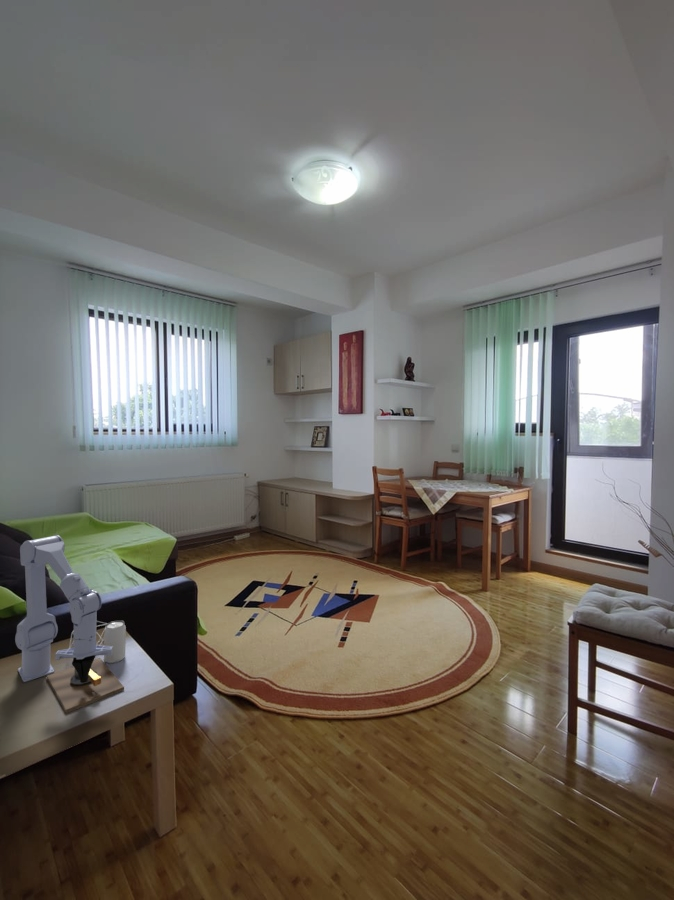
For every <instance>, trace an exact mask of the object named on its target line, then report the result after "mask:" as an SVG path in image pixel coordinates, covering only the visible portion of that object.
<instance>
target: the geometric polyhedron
mask: <svg viewBox="0 0 674 900" xmlns="http://www.w3.org/2000/svg"><path fill="white" fill-rule="evenodd" d="M97 623H102V624H99V625H96V628H97V627H100V626H101V627H102V626H105V627H104V629H103V631H102V633H101V635H100V634H99V632H97V631H96V635H98V638H99V639H98V641H96V645H100V646H102V643H104V637H103V636H104V635H103V634H104V631H105V628H106V625H107V624H108V623H107V622H103V621H99V620H97ZM73 636H74V629H73V630H72V632H71V634H70V641H69V644H68V645H69V647H68V649H69V648H72V647H73V641H72V639H73V638H72V637H73ZM102 637H103V638H102ZM100 641H101V642H100ZM99 643H100V644H99Z"/></svg>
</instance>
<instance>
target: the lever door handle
mask: <svg viewBox="0 0 674 900" xmlns="http://www.w3.org/2000/svg"><path fill="white" fill-rule="evenodd" d="M70 682H71V684H73V685H84V684H87V683H89V682H91V683H93V685H94V686H96V685H99V684H101V677H100V676H98V675H97V672H96V671H94V670H91V668H90V671H89V675H88V679H87V681H86V682H80V678H79V675H78V673H77V671H76V669H75V675H73V676H72V677H71V679H70Z"/></svg>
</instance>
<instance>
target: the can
mask: <svg viewBox="0 0 674 900" xmlns="http://www.w3.org/2000/svg"><path fill="white" fill-rule="evenodd" d="M105 627H106V628H105ZM105 627H104V629H105V630H103V631H104V633H103V634H104V635H103V638H104V641H103V646H113V653H112V654H111V656H107V655H103V662H104V663H105V664H106V663H107V664H116V663H119V662H121V661H123V659H124V658H126V643H127V642H126V641H127V640H126V638H127V636H126V634H127V629H126V628H127V627H126V625H125V621H124V620H114V621H110V622H108V623H107V624H106V625H105Z"/></svg>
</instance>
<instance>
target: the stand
mask: <svg viewBox="0 0 674 900" xmlns="http://www.w3.org/2000/svg"><path fill="white" fill-rule="evenodd" d="M91 670H94V671H96V672H97V675H98V676H100V677H101V684H99V685H96V686H94V685H93V683H91V682H89V683H87V684H84V685H73V684H71V682H70V679H71V677H72V676H73V675H75V668H74V666H72V667H71V666H70V667H68V668H66V669H63V670H60V671H55V672H53V673H51V674H48V675H46V680H47V681H48V684H49V686H50V687H51V689H52V690H53V692H54V693H53V694H55V696H56V698H57V699H58V702H59V703H60V705H61V707H62V709H63V710H64V712H65V713H66V714H68V713H71V712H73V711H75V710H77V709H80V708H82V707H86V706H87V705H90V704H93V703H95V702H97V701H100V700H103V699H106V698H107V697H110V696H112V695H115V694H118V693H121V692H123V691H124V690H125V686H124V685H123V684H122V682H121V681H120V680H119V679H118V678H117V676H116V675H115V674H114V673H113V671H112V670H111V669H110V668H109V667H108V665H106V662H105V661H104V660H103V659H102V658H100V657H98V658H95V659H94V661H93V663H92V665H91ZM122 690H123V691H122ZM117 692H118V693H117Z"/></svg>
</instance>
